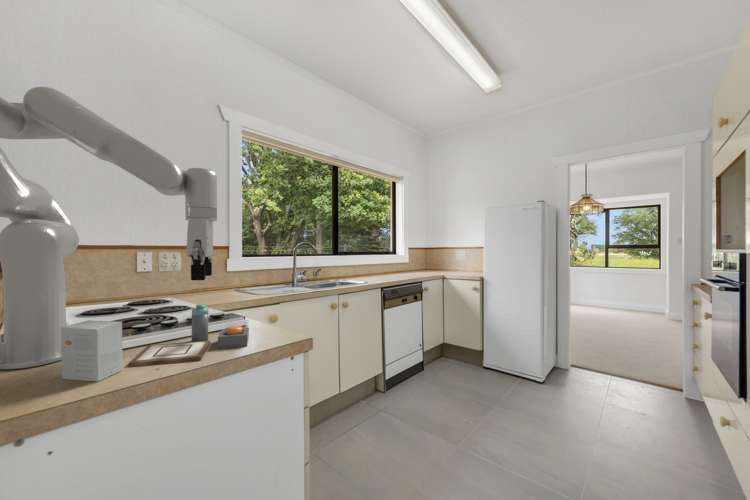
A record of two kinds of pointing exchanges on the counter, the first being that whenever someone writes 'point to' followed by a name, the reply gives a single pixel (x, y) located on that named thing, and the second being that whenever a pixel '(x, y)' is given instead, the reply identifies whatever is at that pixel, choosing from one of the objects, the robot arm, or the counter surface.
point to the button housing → (233, 339)
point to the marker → (200, 323)
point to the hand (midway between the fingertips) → (202, 277)
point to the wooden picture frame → (171, 353)
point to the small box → (91, 350)
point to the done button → (234, 330)
